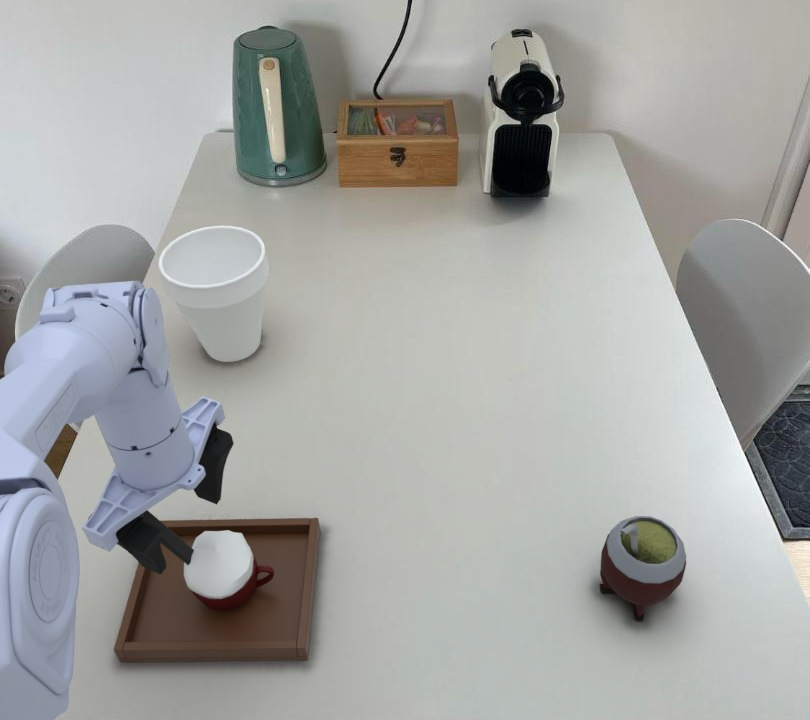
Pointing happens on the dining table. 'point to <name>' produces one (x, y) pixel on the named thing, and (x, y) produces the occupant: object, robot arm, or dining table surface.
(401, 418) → the dining table surface
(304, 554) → the tray
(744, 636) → the dining table surface
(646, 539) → the mate gourd
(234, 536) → the cocoa
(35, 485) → the robot arm
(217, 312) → the cup
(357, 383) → the dining table surface
